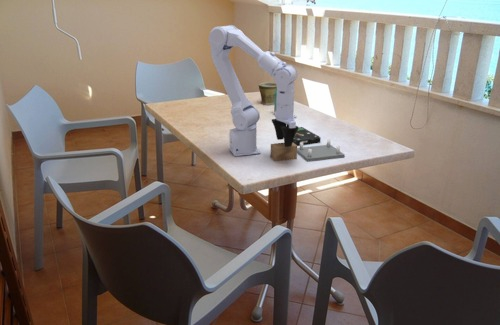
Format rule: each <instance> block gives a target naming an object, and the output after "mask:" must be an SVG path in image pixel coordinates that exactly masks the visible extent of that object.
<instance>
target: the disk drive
mask: <svg viewBox="0 0 500 325" xmlns="http://www.w3.org/2000/svg"><path fill="white" fill-rule="evenodd" d="M298 127H299V129H298V131H297V132H296V134H295V136H294V139H293V143H294V144H296V145H297V147H300V142H303V146H307V145H314V144H320V143H321V137H320V135H317V134H315V133H314V132H312V131H310V130H308V129H306V128H304V127H302V126H298Z"/></svg>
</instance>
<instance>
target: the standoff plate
mask: <svg viewBox="0 0 500 325" xmlns="http://www.w3.org/2000/svg"><path fill="white" fill-rule="evenodd" d="M326 141H327V142H326V144H323V145H322V144H321V145H313V146H304V145H303V142H300V146H299V147H297V155H299V156H300V157H301V158H303V159H304V160H305V161H306V162H314V161H315V162H316V161H323V160H333V159H340V158H345V156H346V154H344V153H343V152H342V151H340V150H341V146H340V145H336V147H335V146H333V145H331V141H332V140H331V139H327V140H326Z"/></svg>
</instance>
